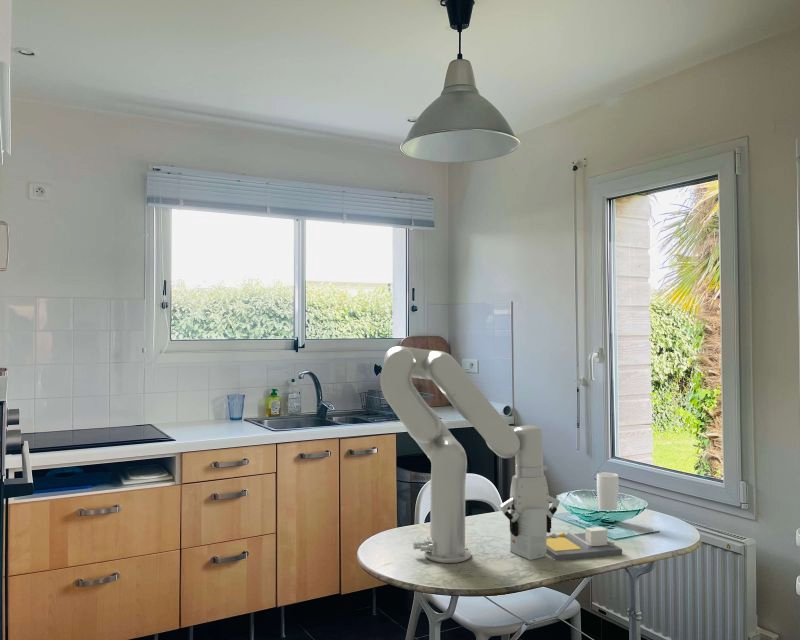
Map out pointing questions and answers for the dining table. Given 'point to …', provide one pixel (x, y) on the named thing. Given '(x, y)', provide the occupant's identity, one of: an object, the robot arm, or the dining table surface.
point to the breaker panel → (577, 547)
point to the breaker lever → (596, 536)
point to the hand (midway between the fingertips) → (530, 533)
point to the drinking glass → (607, 490)
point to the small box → (530, 534)
